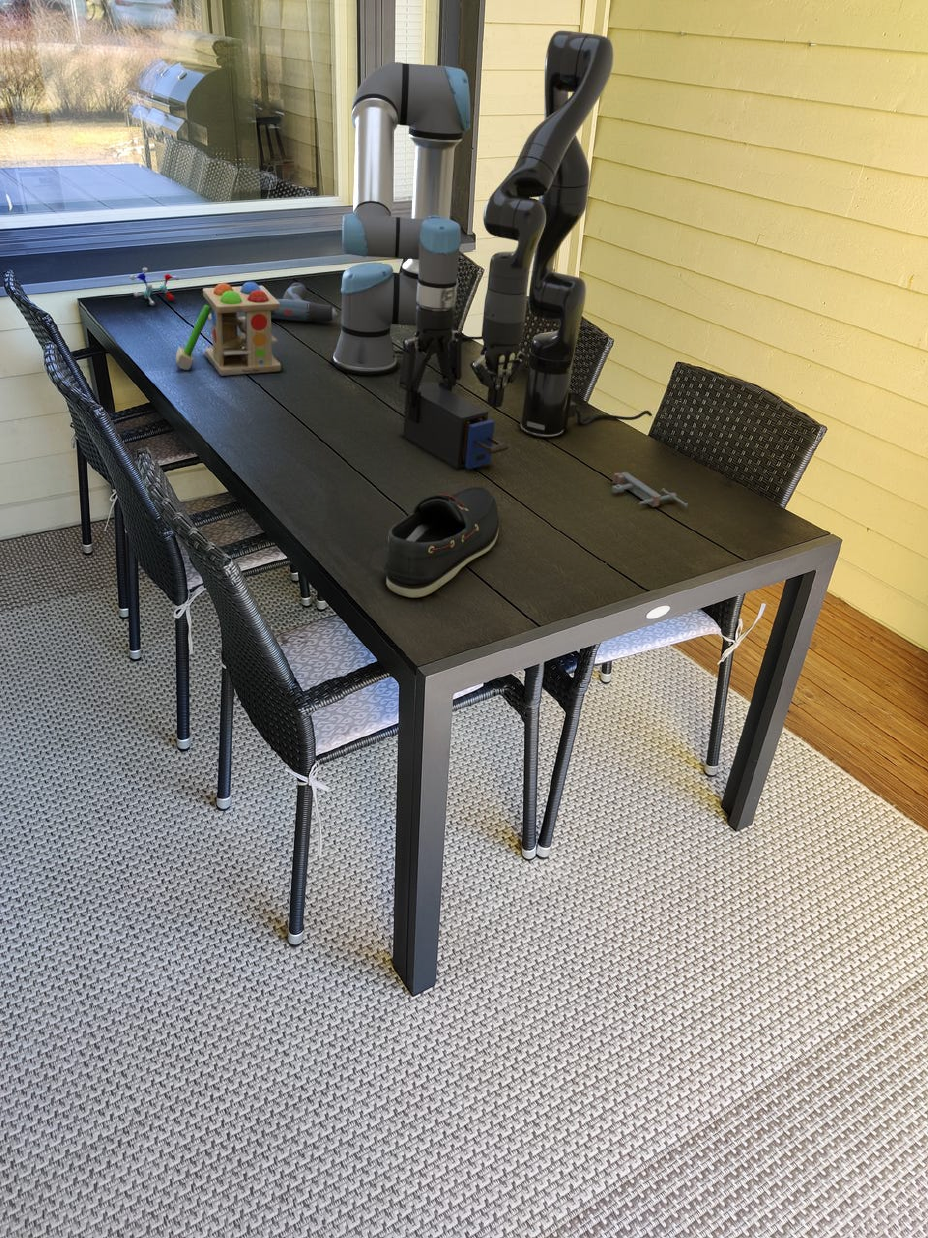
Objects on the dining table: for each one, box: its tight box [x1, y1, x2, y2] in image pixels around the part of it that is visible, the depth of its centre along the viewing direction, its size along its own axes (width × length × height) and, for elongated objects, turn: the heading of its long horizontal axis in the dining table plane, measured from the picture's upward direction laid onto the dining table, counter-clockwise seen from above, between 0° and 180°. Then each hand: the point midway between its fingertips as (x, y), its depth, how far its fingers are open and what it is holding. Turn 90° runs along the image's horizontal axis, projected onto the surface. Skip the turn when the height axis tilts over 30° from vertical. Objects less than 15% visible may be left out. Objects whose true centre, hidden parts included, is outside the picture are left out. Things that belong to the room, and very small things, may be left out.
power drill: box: [271, 282, 338, 322], centre depth 265 cm, size 5×19×20 cm
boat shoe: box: [383, 486, 500, 598], centre depth 165 cm, size 13×33×10 cm, turn 147°
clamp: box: [611, 471, 689, 509], centre depth 190 cm, size 15×2×10 cm
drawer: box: [461, 417, 509, 470], centre depth 195 cm, size 22×6×9 cm, turn 40°
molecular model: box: [129, 267, 180, 307], centre depth 263 cm, size 12×10×10 cm
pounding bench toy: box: [174, 281, 282, 377], centre depth 225 cm, size 23×14×18 cm, turn 116°
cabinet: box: [403, 381, 489, 470], centre depth 199 cm, size 18×7×11 cm, turn 40°
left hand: (428, 416), depth 202 cm, fingers closed on cabinet, 7 cm apart
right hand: (494, 405), depth 185 cm, fingers closed
